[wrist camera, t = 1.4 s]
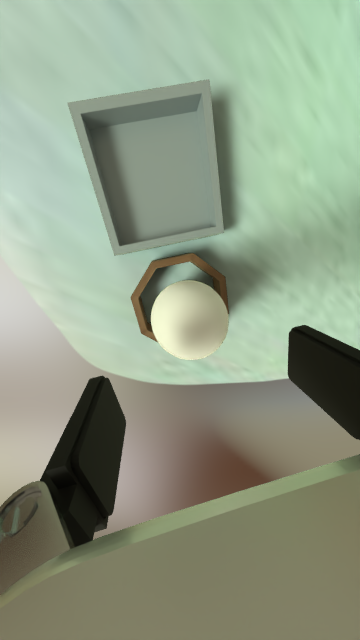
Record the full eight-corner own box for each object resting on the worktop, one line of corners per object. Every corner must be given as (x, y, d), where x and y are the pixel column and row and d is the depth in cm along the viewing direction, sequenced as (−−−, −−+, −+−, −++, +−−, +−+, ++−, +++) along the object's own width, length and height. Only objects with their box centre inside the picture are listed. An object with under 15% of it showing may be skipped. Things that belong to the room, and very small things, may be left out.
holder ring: (214, 247, 21) (222, 246, 19) (224, 328, 25) (231, 336, 23) (125, 266, 21) (121, 268, 18) (148, 346, 25) (148, 356, 22)
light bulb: (193, 262, 22) (228, 272, 11) (213, 311, 24) (257, 356, 14) (141, 287, 22) (130, 319, 12) (166, 333, 24) (175, 393, 14)
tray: (201, 104, 17) (209, 79, 14) (216, 234, 21) (224, 232, 18) (80, 124, 16) (67, 102, 14) (119, 255, 20) (114, 255, 18)
